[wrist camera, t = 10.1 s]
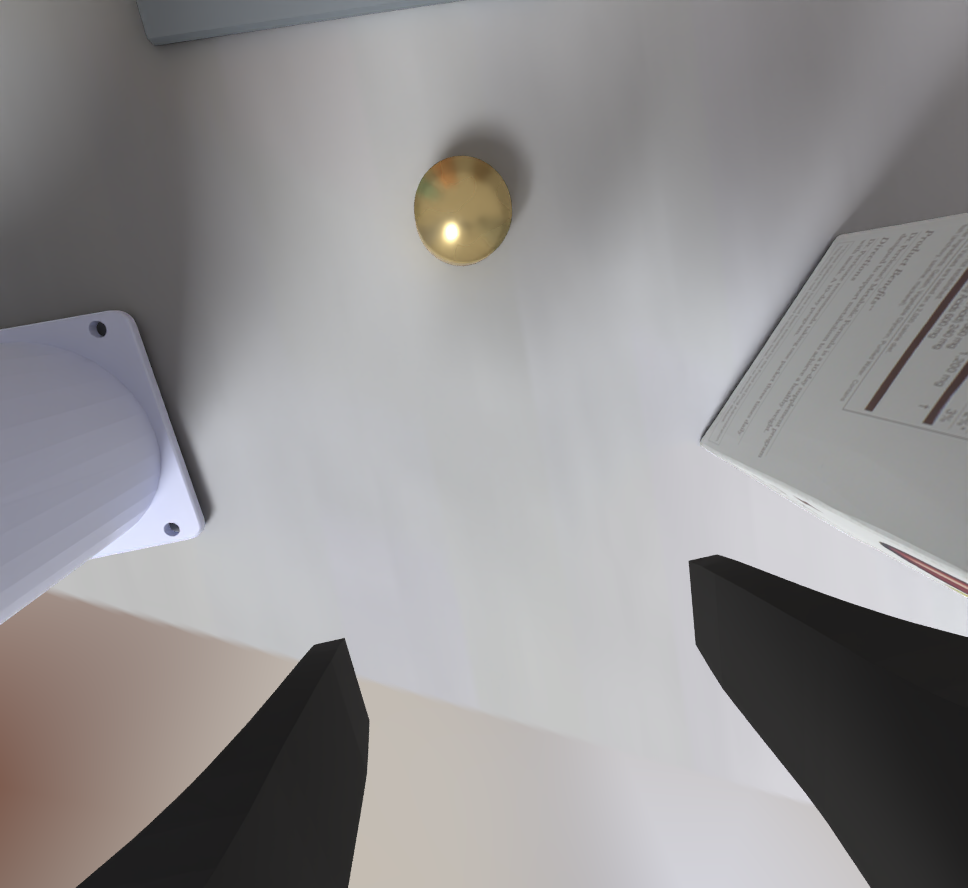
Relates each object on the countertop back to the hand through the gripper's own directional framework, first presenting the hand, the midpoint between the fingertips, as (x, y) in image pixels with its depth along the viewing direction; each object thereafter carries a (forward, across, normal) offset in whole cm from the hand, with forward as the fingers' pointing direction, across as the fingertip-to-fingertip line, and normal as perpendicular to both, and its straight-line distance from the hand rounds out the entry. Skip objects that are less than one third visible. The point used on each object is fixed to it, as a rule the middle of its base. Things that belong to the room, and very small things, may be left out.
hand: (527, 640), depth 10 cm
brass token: (+10, -1, -10) cm, 14 cm away
